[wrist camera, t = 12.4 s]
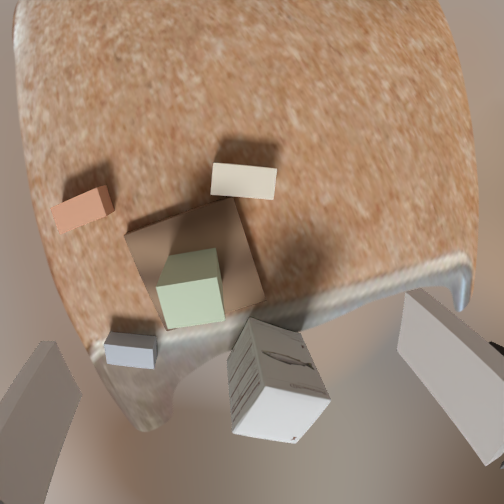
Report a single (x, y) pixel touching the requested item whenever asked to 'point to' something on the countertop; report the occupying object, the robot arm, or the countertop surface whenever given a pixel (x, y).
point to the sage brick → (191, 289)
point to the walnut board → (194, 239)
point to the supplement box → (273, 384)
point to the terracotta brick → (82, 209)
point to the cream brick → (243, 181)
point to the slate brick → (131, 350)
